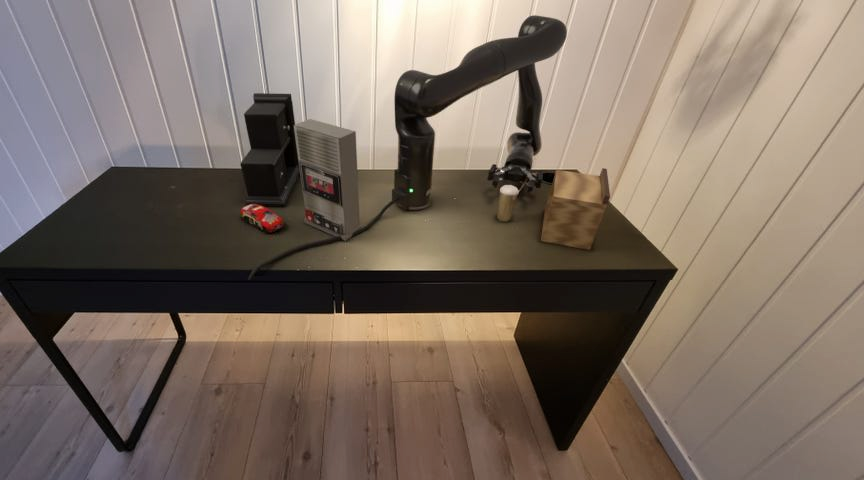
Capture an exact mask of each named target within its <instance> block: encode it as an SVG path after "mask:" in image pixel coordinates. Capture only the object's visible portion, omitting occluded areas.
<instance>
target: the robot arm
mask: <svg viewBox="0 0 864 480" xmlns="http://www.w3.org/2000/svg"><path fill="white" fill-rule="evenodd" d="M567 36H568V29H567V26H566V25H565V23H564V22H563V21H562V20H560V19H559V18H555V17H550V16H543V15H533V14H532V15H529V16H528V17H526V18H525V19H524V20H523V22H522V23H521V25H520V27H519V30H518V33H517V36H514V37H505V38H504V37H503V38H498V39H493V40H490V41H486V42H485V43H483V44H480V45H478V46H475V47H474V48H472V49H471V50H469V51H468V52H466V54H465V55H464V56H463V57H462V59H461V61H460V63H459V65H457V66H456V67H454V68H453V69H451V70H448V71H446V72H443V73H440V74H430V73H427V72H423V71H420V70H416V69H409V70H406V71H405V72H403V73H402V74H401V75H400V77H399V78H398V80H397V82H396V85H395V89H394V101H393V102H394V103H393V104H394V127H395V131H396V133H397V168H396V169H394V171H393V172H394V174H393V175H394V176H393V182H394V183H393V188H392V190H391V201H389V202H388V203H387V204H386V205H385V206H384V207H382V209H381V210H380V211H379V213H378V214H377V215H375V217H374V218H373V219H372V220H371V221H370V222H369V223H368V224H367V225H365V226H362V227H361V229H359V230H357V231H355V232H354V233H353V234H352V237H353V236H357V235H359V234H361V233H363V232H364V231H367V230H368V229H370V228H371V227H372V226H373V225H375V223H376V222H377V221H378V220H379V219H381V217H382V216H383V214H384V213H385V212H386V211H387V210H388V209H389V208H391V206H392V205H393V204H396V205H397V206H398V207H400V208H401V209H402V210H404V211H419V210H420V211H421V210H424V209H427V208H428V207H429V206H430V205H431V194H432V192H433V190H434V187H433V186H432V181H433V170H434V156H435V144H436V131H435V129H434V128H433V126H432V125H431V124H430V122H429V121H428V118H431V117H434V116H436V115H438V114H440V113H442V112H443V111H444V110H446V109H447V108H448V107H450V106H453V104H454V103H456V102H458V101H459V100H461V99H463V98H465V97H466V96H468V95H471V94H473V93H474V92H476V91H478V90H480V89H482V88H484V87H486V86H489V85H491V84H493V83H495V82H497V81H499V80H501V79H503V78H505V77H507V76H509V75H511V74H513V73H516V72H517V79H518V97H517V98H518V99H517V107H516V115H515V126H516V127H517V128H518V129H520V130H524V131H527V132H520V131H519V132H518V131H517V132H513V133H511V134H510V135H509V136H508V139H507V143H506V149H507V153H508V154H507V157H506V159H505V162H504V165H503V166H502V167H499V166H498V165H497V164H496V163H493V164H492V165H491V167H490V168H489V170H488V173H487V179H486V180H487V181H490V182H491V181H492V183H491V186H493V188H494V189H497V188H498V185H499V183H500V182H501V183H505V182H508V181H509V182H516V183H517V182H518V183H520V184H521V185H523V184H524V185H523V187H525V186H526V187H527V189H526V194H530V193H532V192H533V191H534V188H536V189H541V188H542V184H543V183H542V182H543V178H544V177H543V175H544V174H543V173H544V171H542V170H538V171H537V172H533V171H532V167H533V163H534V156H537V155H538V154H539V153H540V152H541V150H542V146H543V145H542V143H543V142H542V135H541V128H540V123H541V114H542V108H543V93H542V89H541V84H540V82H539V78H538V75H537V70H536V63H539V62H542V61H545V60H548V59H550V58H552V57H554V56H555V55H556V54H557V53H559V51H561V49H562V47H563V46H564V44H565V42H566V40H567ZM340 240H342V239H341V236H337V237H336V236H334V237H333V236H332V237H330V238H324V239H321V240H316V241H311V242H307V243H304V244H300V245H297V246H294V247H292V248H289V249H288V250H285V251H283V252H280V253H279V254H276V255H275V256H273V257H272V258H269V259H267V260H265V261H262V262H260V263H259V264H258V265H256V266H255V267H254V268H253V270H251V272H250V274H249V275H248V277H247V281H251V280H253V279H254V276H255V275H256V274H257V272H258V271H259V270H261V269H262V268H264V267H266V266H268V265H270V264H272V263H273V262H276V261H277V260H279V259H281V258H283V257H286V256H287V255H289V254H291V253H294V252H296V251H299V250H303V249H306V248H309V247H313V246H317V245H323V244H327V243H330V242H335V241H340ZM261 267H262V268H261Z"/></svg>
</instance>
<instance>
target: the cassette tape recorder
mask: <svg viewBox="0 0 864 480" xmlns="http://www.w3.org/2000/svg"><path fill="white" fill-rule="evenodd" d="M294 132H295V139H296V147H297V154H298V161H299V168H300V174H299V176H300V183H301V189H302V197H303V205H304V211H305V218H303V221H304V224H306V225H309V226H311V227H314V228H315V229H318V230H320V231H322V232H325V233H326V234H329V235H331V236H332V237H333V236H334V237H337V236H341V239H340V240H343V241H344V242H346V241H348V240H349V239H350V238H352V237H353V236H352V234H353V233H354V232H355V231H357V230H359V229H361V228H362V227H361V221H360V220H361V219H360V198H359V197H360V196H359V177H358V174H359V173H358V156H357V154H358V153H357V132H356V130H352V129H348V128H345V127H341V126H337V125H334V124H330V123H326V122H323V121H320V120H316V119H312V118H309V119H307V120H303V121H301V122H298V123H295V125H294Z"/></svg>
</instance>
